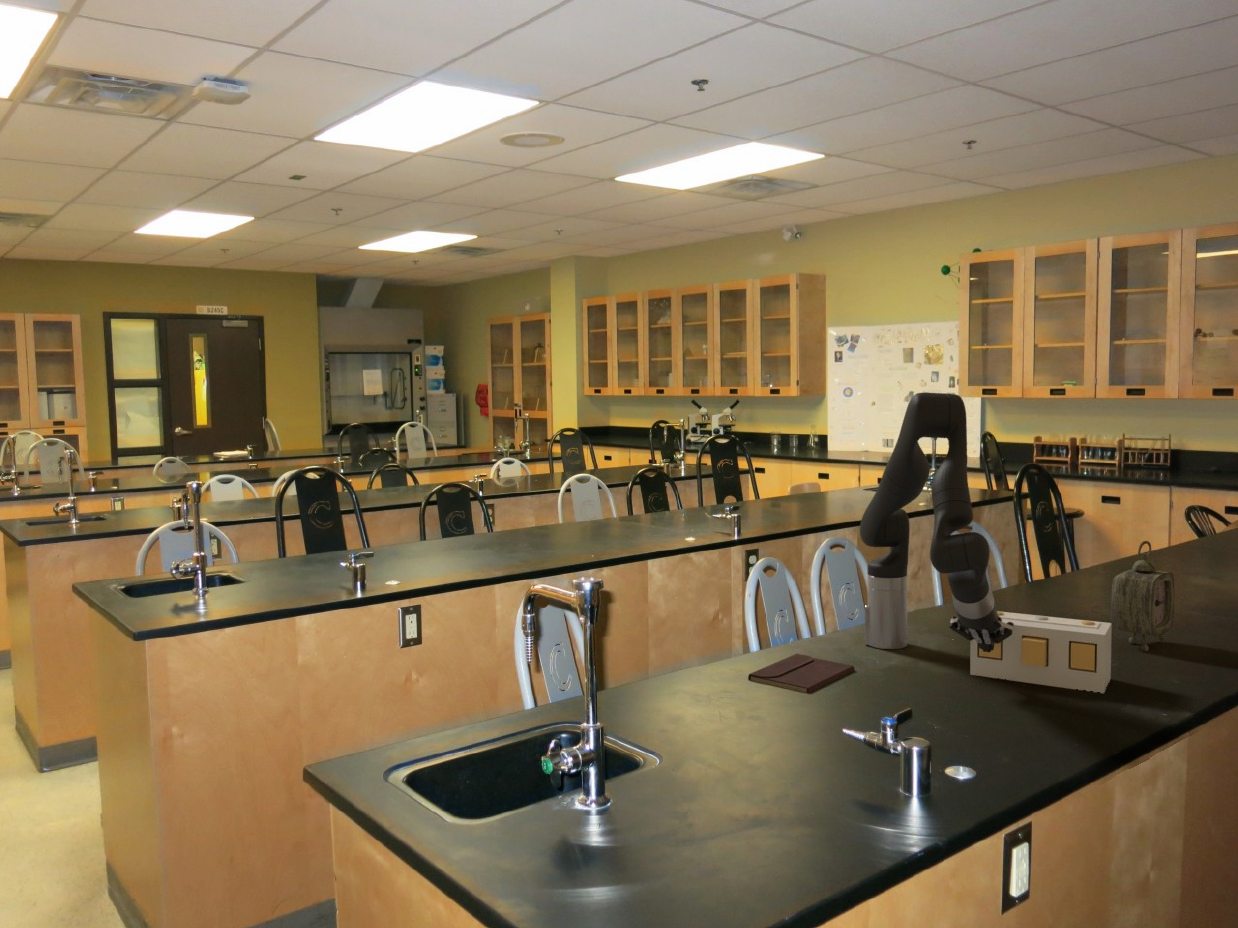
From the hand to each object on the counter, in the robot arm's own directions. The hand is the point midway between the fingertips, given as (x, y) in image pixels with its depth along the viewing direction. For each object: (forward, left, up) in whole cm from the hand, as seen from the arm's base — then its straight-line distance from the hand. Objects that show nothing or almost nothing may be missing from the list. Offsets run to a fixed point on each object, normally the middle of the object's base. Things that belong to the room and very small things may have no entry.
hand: (987, 648), depth 201 cm
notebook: (-36, -15, -8) cm, 39 cm away
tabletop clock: (+25, +46, -7) cm, 53 cm away
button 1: (0, +5, -3) cm, 6 cm away
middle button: (+9, +3, -3) cm, 10 cm away
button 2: (+18, +5, -3) cm, 19 cm away
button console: (+9, +9, -7) cm, 14 cm away
